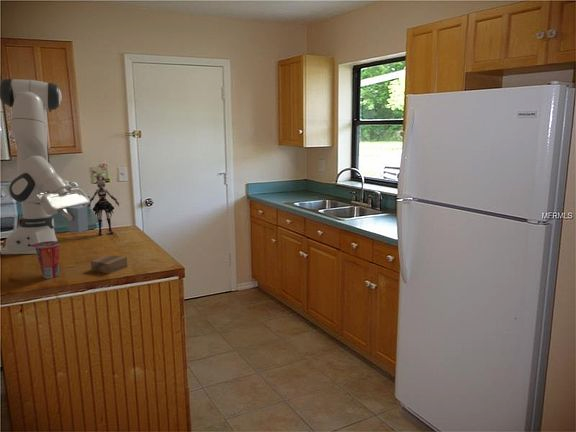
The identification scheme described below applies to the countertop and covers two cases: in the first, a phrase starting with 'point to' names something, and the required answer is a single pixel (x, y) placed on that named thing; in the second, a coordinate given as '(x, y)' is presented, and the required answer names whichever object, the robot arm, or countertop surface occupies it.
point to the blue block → (78, 219)
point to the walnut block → (109, 264)
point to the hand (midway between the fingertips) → (78, 218)
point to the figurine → (102, 203)
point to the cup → (48, 258)
